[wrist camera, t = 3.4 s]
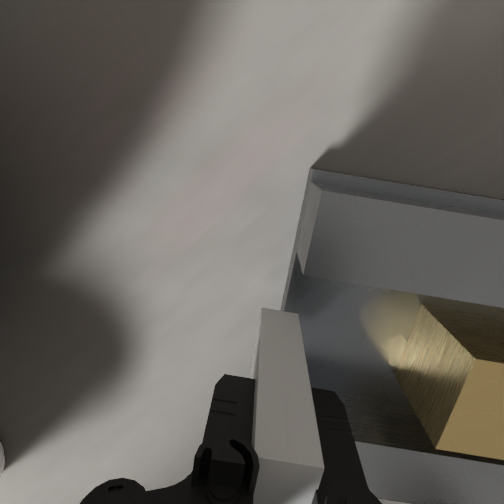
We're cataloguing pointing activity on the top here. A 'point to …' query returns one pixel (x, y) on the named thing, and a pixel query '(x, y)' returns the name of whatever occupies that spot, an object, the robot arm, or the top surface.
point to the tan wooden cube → (457, 379)
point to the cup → (1, 458)
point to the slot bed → (392, 316)
